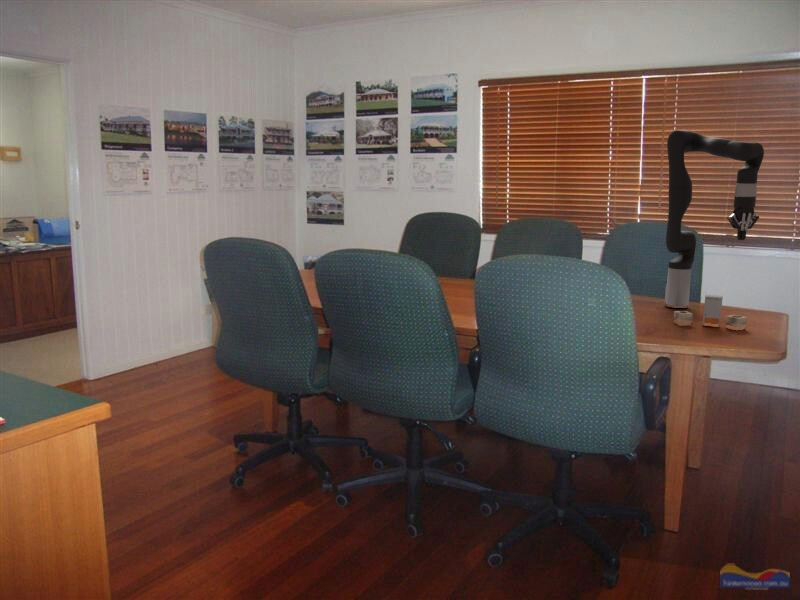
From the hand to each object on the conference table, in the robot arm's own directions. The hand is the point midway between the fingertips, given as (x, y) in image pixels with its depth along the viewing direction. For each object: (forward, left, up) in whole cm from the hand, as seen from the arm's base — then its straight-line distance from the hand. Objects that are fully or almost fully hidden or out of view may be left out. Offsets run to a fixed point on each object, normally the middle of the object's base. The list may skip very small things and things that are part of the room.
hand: (741, 239), depth 262 cm
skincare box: (+8, -16, -32) cm, 37 cm away
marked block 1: (+3, -25, -32) cm, 41 cm away
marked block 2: (+14, -10, -32) cm, 36 cm away
